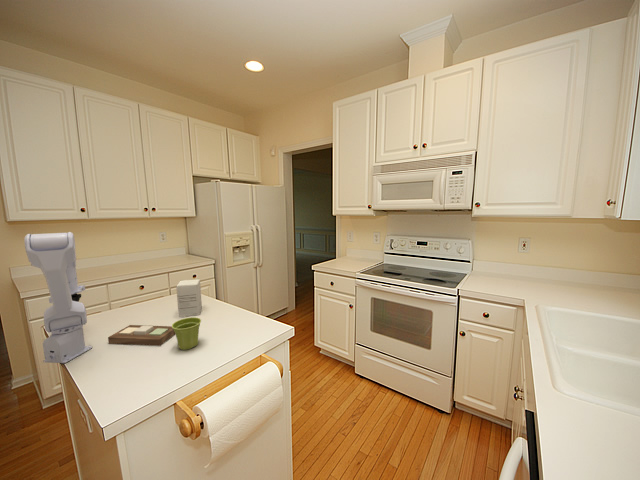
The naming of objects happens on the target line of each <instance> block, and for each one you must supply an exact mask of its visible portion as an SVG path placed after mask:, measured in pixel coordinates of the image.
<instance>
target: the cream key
mask: <svg viewBox="0 0 640 480" xmlns="http://www.w3.org/2000/svg"><path fill="white" fill-rule="evenodd" d="M125 328H126V327H125ZM136 329H138V328H133V327H128V328H126V329H125V330H123V331H121V332H119V334H127V335H130V334H132V333H134V331H135V330H136Z"/></svg>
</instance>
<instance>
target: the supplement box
mask: <svg viewBox="0 0 640 480" xmlns="http://www.w3.org/2000/svg"><path fill="white" fill-rule="evenodd" d="M175 289H176V298H177V300H176V302H177V310H178V313H177V314H178V318H188V317H196V316H200V315H201V311H202V309H203V304H202V290H201V289H202V288H201V279H200V278H199V279H185V280H180V281H179V282H178V283H177V284H176V288H175Z"/></svg>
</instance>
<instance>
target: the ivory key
mask: <svg viewBox="0 0 640 480" xmlns="http://www.w3.org/2000/svg"><path fill="white" fill-rule="evenodd" d="M153 326H154V325H146V326H141V327H140V328H138V329H136V330H135V331H134V335H146V334H148V333H149V332H151V331H152V330H154V328H153Z"/></svg>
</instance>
